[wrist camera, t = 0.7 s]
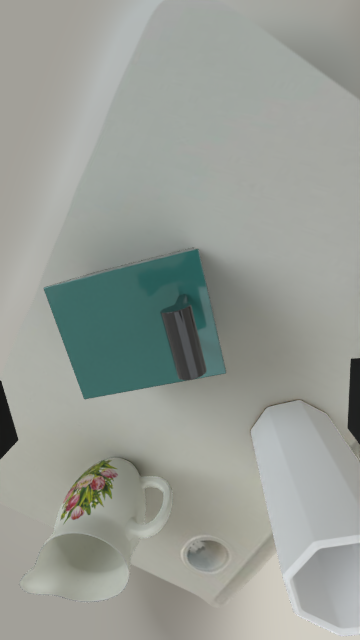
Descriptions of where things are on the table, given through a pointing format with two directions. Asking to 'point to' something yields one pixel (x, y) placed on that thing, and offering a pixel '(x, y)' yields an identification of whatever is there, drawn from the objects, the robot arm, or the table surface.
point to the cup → (312, 512)
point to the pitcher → (97, 534)
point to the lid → (138, 325)
